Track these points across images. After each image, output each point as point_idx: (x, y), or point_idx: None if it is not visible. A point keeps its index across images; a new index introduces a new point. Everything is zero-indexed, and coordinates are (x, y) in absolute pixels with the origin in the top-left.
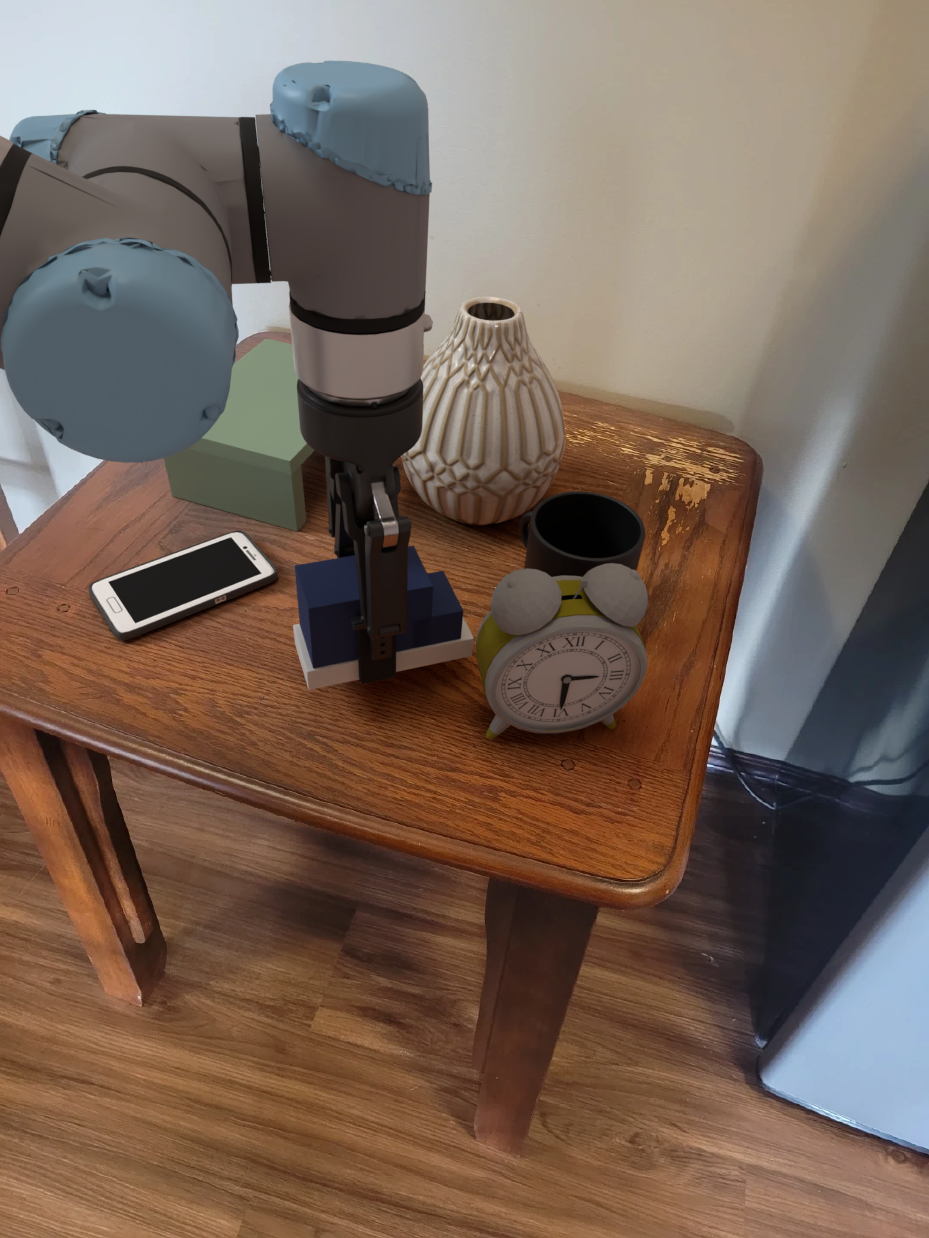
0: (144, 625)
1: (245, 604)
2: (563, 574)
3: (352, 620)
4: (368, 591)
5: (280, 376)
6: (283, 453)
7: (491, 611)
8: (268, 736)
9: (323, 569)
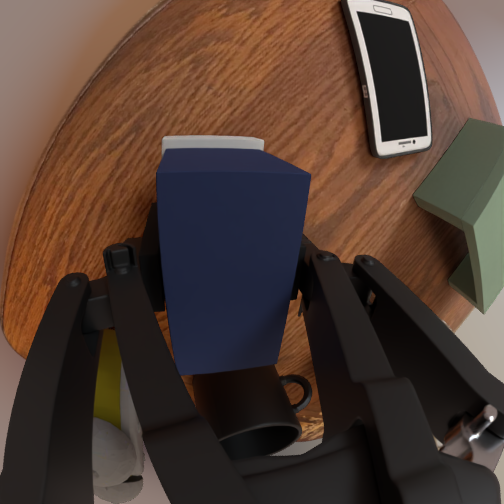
0: (351, 15)
1: (353, 112)
2: (215, 420)
3: (125, 250)
4: (46, 354)
5: None
6: (480, 223)
7: (125, 406)
8: (151, 84)
9: (275, 228)
